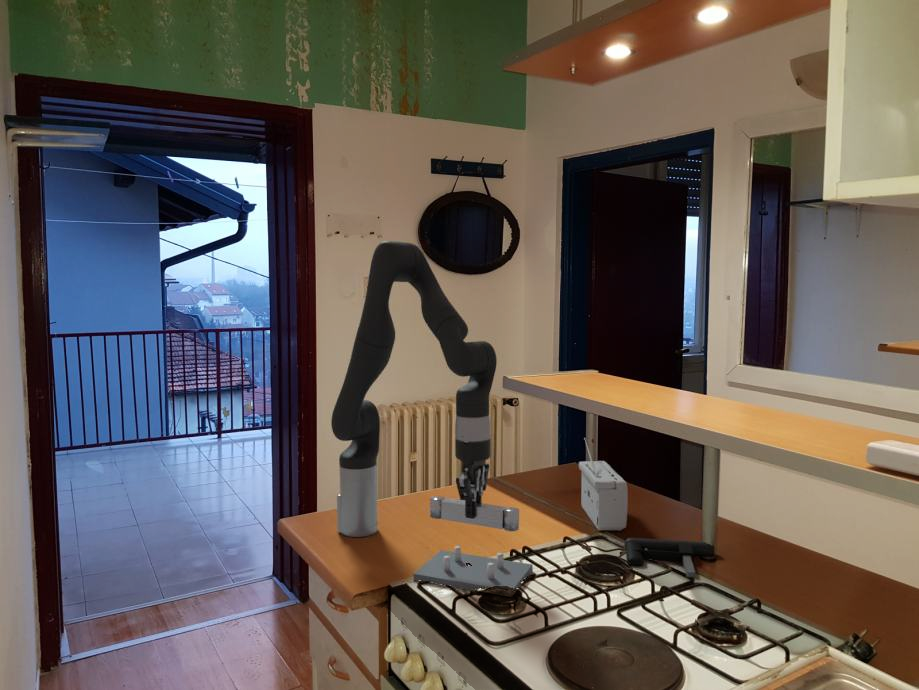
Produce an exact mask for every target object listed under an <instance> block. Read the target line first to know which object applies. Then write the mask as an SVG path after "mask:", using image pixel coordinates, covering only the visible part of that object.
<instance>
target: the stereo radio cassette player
mask: <svg viewBox="0 0 919 690" xmlns="http://www.w3.org/2000/svg"><path fill="white" fill-rule="evenodd" d="M583 440H584V441H585V447H586V449H587V452H588V457H589V460H590V461H589V460H588V461H586V460H585V461H579V462H578V469H579V470H580V471H581V492H580V493H581V494H580V495H581V500H580V501H581V508H582V509H583V510H584V513H586V514H587V516H588V517H589V519H590V520H591V522H592V524H594V526H595V528H596V529H597V530H598V531H618V532H619V531H623V529H625V528H627V520H628V503H629V501H628V499H629V498H628V483H627V481H625V480H624V478H623V477H622V476H621V475H619V473H618V472H617V471H616V470H615V469H614V468H612V467H611V465H610V464H608V463H607V462H606V461H605V460H593V459H592V458H593V457H592V455H591V452H590V449H589V446H588V443H587V440H586V437H584V438H583Z"/></svg>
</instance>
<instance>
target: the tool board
mask: <svg viewBox="0 0 919 690" xmlns="http://www.w3.org/2000/svg"><path fill="white" fill-rule="evenodd" d="M466 563H470V564H471V565H472V566H467V565H466ZM533 567H534V566H533V564H532V563H525V562H519V561H512V560H506V559H504V553H503V552H497V553H496V558H493V557H487V556H480V555H475V554H469V553H463V552H462V547H461V546H460V545H456V546H454V551H450V550H443V549H440V550H439V551H438V552H436V554H434V555H433V556H432V557H431V558H430V559H429V560H428V561H426V562H425V563H424V564H423V565H422V566H421V567H419V568H418V569H416V571H415V572H414V573H413V574H412V575H413V577H412V578H413V581H414V580H421V581H430V582H433V583H437V584H442V585H446V584H448V585H451V586H453V587H456V588H455V589H458V588H463V589H462V590H464V589H465V591H470V592H474V591H473V590H475V589H477V588H481V589H485V588H489V587H493V586H508V587H510V588H513V589H514V588H519V587H520V585H521V582H522V581H523V579H524V578H525V577H527V576H528V577H530V575H531V574H532V573H533ZM442 585H441V586H442ZM453 587H452V588H453ZM520 588H521V587H520ZM520 588H519V589H520Z"/></svg>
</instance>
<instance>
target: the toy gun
mask: <svg viewBox="0 0 919 690" xmlns="http://www.w3.org/2000/svg"><path fill="white" fill-rule="evenodd" d="M705 542H706V541H692V540H690V541H689V540H673V539H672V540H671V539H656V538H639V537H628V538H626V539H625V540H624V547H625V549H626V548H627V552H626V551H625V555H626V556H625V557H626V563H627V564H628V563H629V564H630V565H631V566H630V565H629V564H628V565H629V566H630V567H643V565H644V564H645V561H648V560H647V559H652V560H651V561H654V560H657V562H669V563H670V562H671V563H672V562H673V563H682V565H683V569H684V572H685V575H686V577H687V578H692V577H693V578H694V579H695V578H696V571H695V567H694V556H706V557H707V556H708V557H709V555H710V556H712V555H713V556H714V555H715V544H714V543H712V544H713V545H710V544H707V543H705ZM693 578H692V579H693Z"/></svg>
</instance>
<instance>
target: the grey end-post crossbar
mask: <svg viewBox="0 0 919 690" xmlns="http://www.w3.org/2000/svg"><path fill="white" fill-rule="evenodd" d="M429 500H430V501H429V503H430V504H429V505H430V507H429V517H430V518H431V519H436V520H437V519H438V520H443V521H450V522H456V523H461V524H468V525H475V526H479V527H487V528H492V529H498V530H504V531H506V532H517V531H519V530H520V509H519V508H517V507H507V506H503V505H502V506H501V505H495V504H491V503H490V504H489V503H483V502H482V503H477V502H476V517H475V518H474V519H471V518H466V516H465V501H464V500H460V499H456V498H452V497H451V498H450V497H444V496H441V495H440V496H439V495H435V496H431V497H430V499H429Z"/></svg>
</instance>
